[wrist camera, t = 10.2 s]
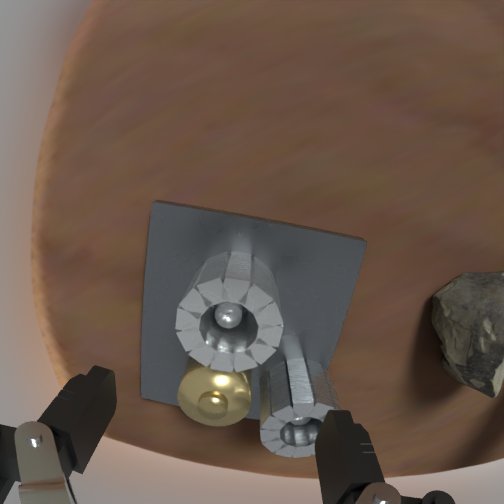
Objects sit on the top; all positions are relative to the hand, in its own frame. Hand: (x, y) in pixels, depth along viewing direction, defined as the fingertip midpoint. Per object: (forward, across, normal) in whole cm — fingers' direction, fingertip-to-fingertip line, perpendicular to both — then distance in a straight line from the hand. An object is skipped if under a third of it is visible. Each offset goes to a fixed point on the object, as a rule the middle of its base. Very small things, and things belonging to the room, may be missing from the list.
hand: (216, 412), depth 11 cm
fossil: (+13, -21, -1) cm, 25 cm away
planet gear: (+11, 0, 0) cm, 11 cm away
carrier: (+12, -1, +3) cm, 13 cm away
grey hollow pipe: (+11, -6, +7) cm, 14 cm away
